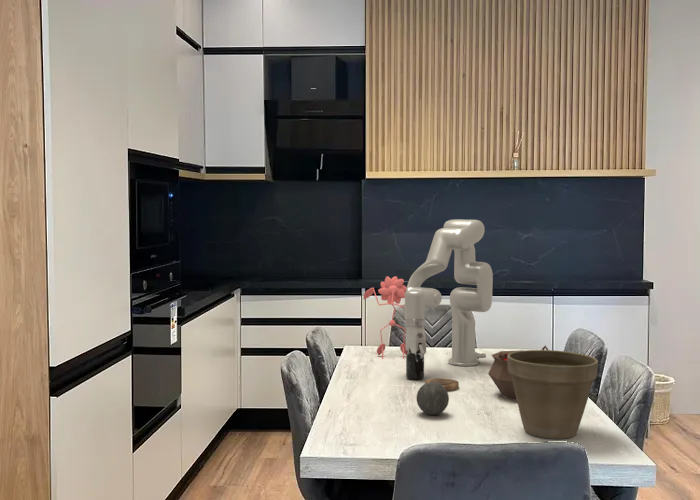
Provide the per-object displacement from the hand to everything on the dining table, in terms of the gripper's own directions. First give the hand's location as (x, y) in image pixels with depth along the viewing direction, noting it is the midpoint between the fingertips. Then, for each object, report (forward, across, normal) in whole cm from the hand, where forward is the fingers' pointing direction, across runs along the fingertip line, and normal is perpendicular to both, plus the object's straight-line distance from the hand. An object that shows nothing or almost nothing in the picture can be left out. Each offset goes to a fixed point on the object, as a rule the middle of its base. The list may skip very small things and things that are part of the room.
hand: (415, 369), depth 276 cm
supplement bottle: (+4, 0, 0) cm, 4 cm away
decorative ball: (+3, -47, +13) cm, 49 cm away
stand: (+3, -16, -4) cm, 17 cm away
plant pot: (+3, -74, -12) cm, 75 cm away
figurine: (+4, +45, -8) cm, 46 cm away
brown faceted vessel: (+4, -35, -26) cm, 44 cm away
